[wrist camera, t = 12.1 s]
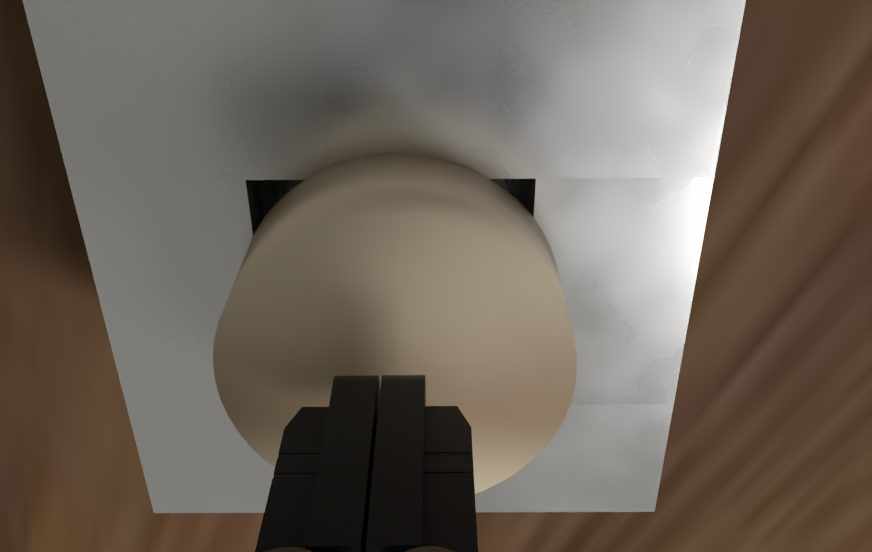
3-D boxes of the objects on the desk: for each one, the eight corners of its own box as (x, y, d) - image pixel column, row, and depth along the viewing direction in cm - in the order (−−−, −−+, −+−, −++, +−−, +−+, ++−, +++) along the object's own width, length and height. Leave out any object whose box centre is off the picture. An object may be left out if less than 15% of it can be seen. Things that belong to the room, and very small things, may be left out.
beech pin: (272, 65, 20) (184, 217, 13) (539, 63, 20) (592, 214, 13) (298, 292, 23) (238, 507, 16) (527, 290, 23) (564, 506, 16)
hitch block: (78, -214, 18) (-99, -210, 12) (716, -220, 18) (853, -219, 12) (203, 417, 28) (136, 595, 22) (626, 415, 27) (678, 594, 21)
